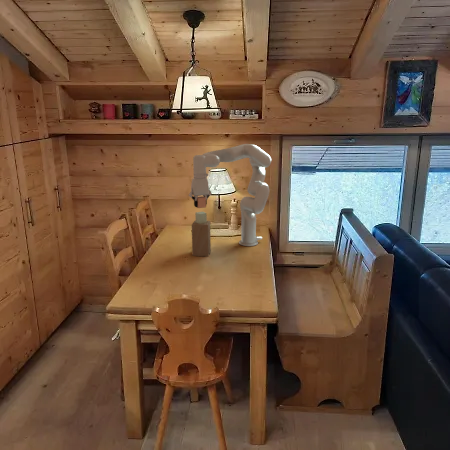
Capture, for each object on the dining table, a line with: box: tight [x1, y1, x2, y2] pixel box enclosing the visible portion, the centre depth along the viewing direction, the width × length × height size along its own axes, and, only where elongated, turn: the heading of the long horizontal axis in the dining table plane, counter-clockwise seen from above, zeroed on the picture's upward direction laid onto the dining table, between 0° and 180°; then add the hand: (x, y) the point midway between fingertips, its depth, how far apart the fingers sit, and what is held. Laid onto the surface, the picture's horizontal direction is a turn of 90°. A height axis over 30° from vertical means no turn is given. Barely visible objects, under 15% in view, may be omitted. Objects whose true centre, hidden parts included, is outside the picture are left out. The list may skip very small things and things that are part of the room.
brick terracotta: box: [196, 195, 207, 209], centre depth 251 cm, size 5×5×6 cm
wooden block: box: [191, 220, 212, 257], centre depth 257 cm, size 10×10×20 cm
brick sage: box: [194, 211, 208, 224], centre depth 254 cm, size 5×5×6 cm
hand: (200, 206), depth 251 cm, fingers closed on brick terracotta, 5 cm apart
